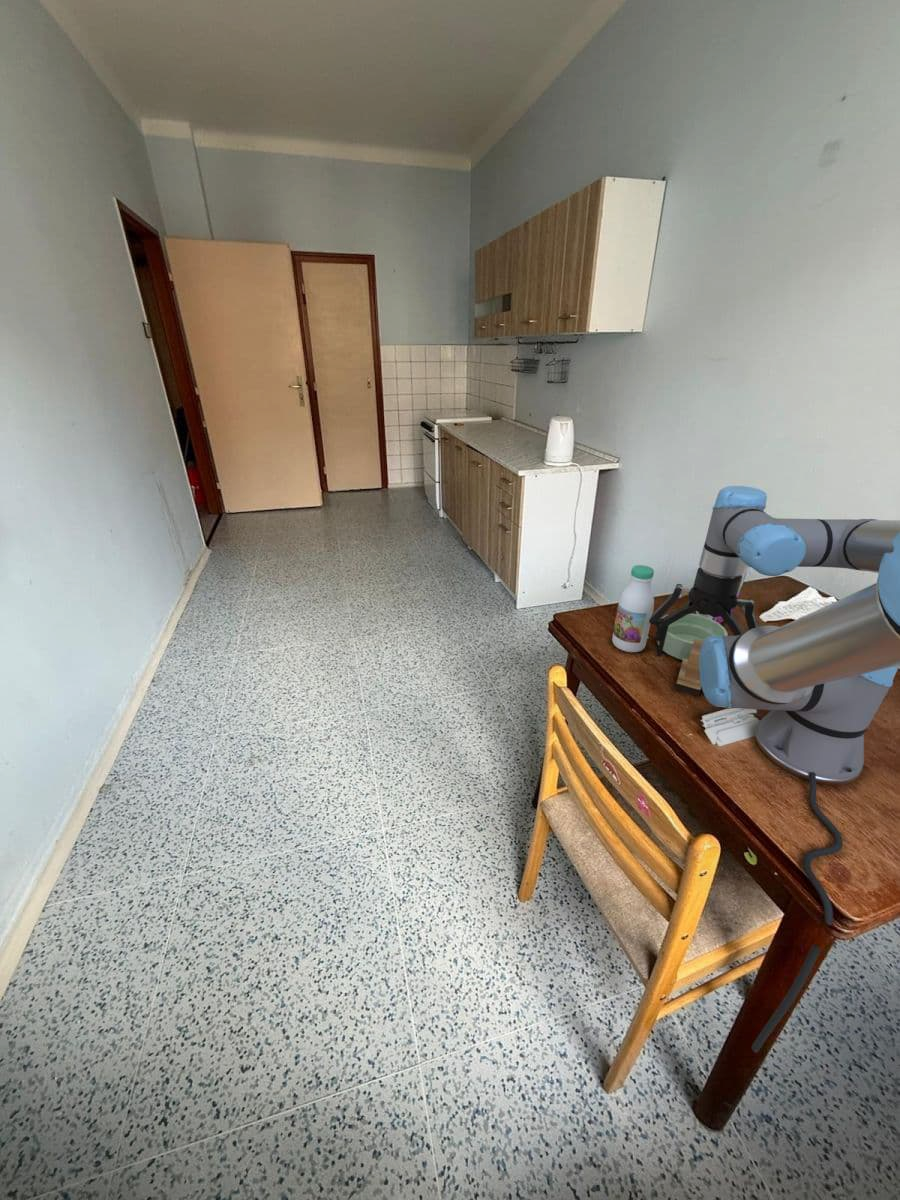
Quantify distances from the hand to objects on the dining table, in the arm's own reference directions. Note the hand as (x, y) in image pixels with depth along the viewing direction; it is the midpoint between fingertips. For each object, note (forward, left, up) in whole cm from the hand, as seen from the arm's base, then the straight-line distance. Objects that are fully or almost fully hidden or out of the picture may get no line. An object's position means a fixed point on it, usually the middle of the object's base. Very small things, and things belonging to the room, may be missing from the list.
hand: (694, 662), depth 98 cm
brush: (0, 0, -5) cm, 5 cm away
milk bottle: (+8, +14, -5) cm, 17 cm away
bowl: (+14, +2, -5) cm, 15 cm away
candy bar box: (+31, -2, -5) cm, 31 cm away
